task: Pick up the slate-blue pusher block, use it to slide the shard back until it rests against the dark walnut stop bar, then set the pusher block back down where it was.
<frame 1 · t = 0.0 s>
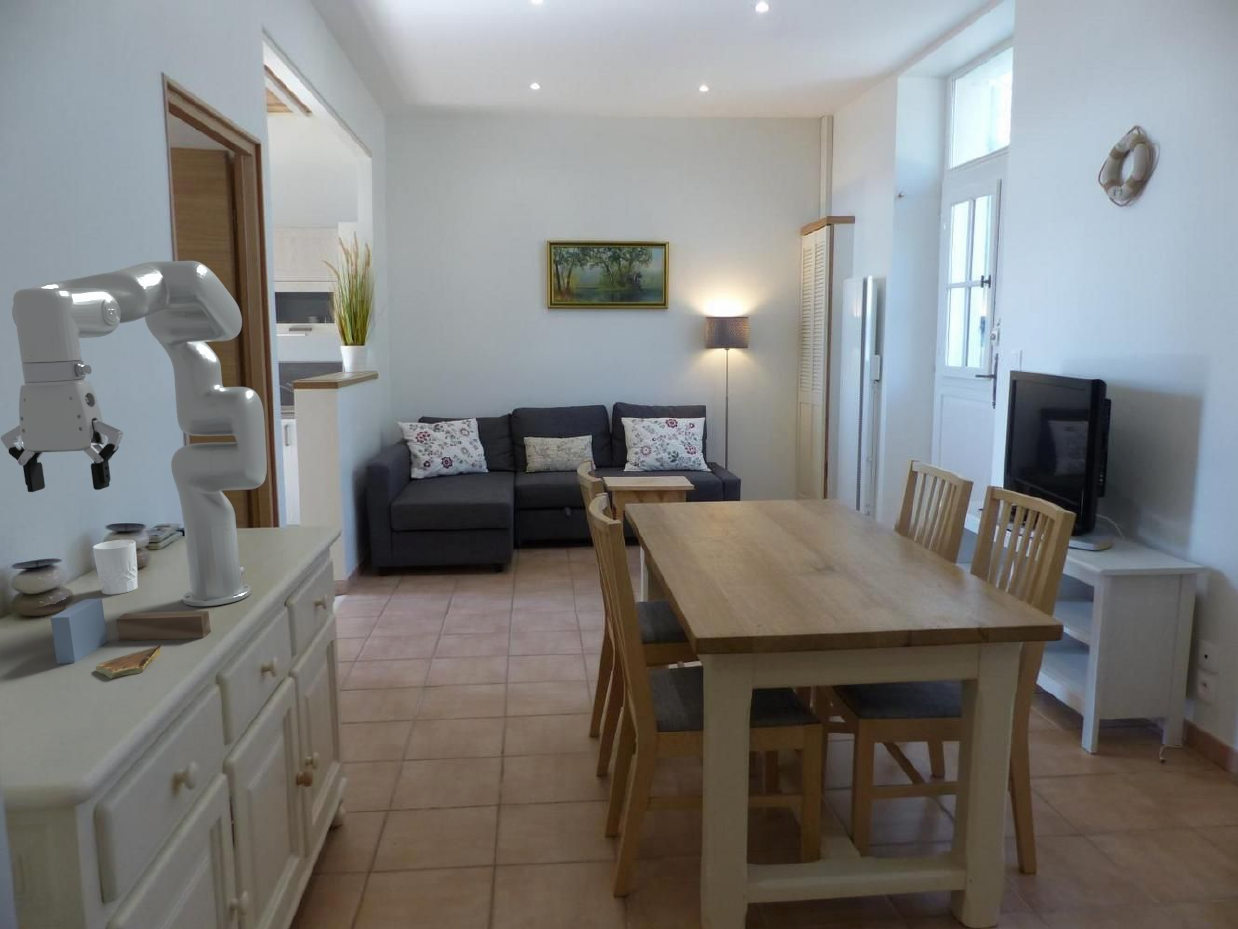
hand: (69, 489, 136), 31 cm above the table, tool pointing down, fingers open, 9 cm apart
pusher block: (83, 652, 157), on the table
stop bar: (165, 636, 163), on the table
white cup: (120, 591, 193), on the table
shard: (126, 669, 150), on the table
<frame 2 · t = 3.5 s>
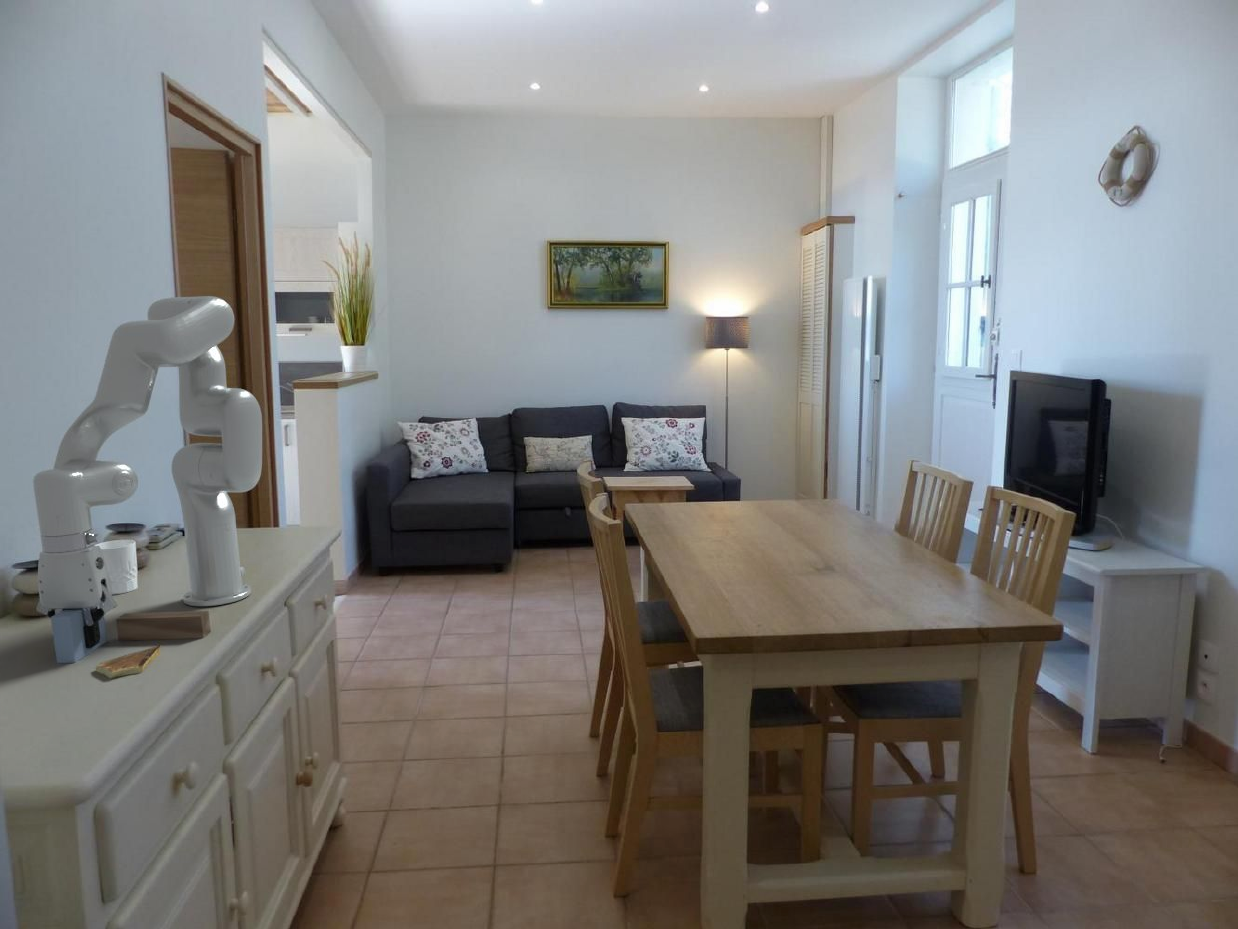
hand: (82, 645, 157), 1 cm above the table, tool pointing down, fingers closed on pusher block, 3 cm apart
pusher block: (83, 651, 157), on the table, touching gripper
everything else where it was.
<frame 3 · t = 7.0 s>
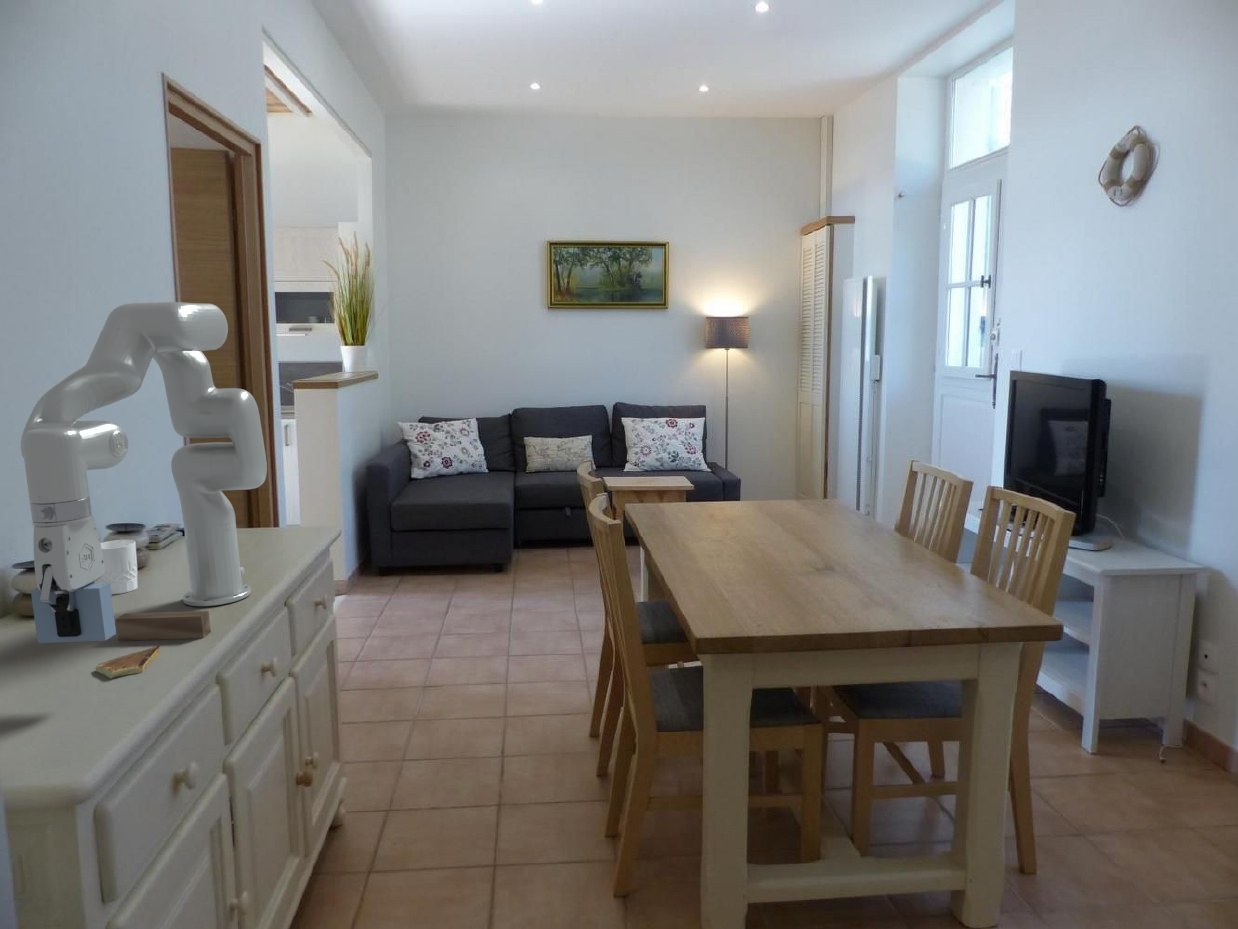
hand: (76, 630, 137), 10 cm above the table, tool pointing down, fingers closed on pusher block, 3 cm apart
pusher block: (77, 638, 137), point 9 cm above the table, touching gripper
everything else where it was.
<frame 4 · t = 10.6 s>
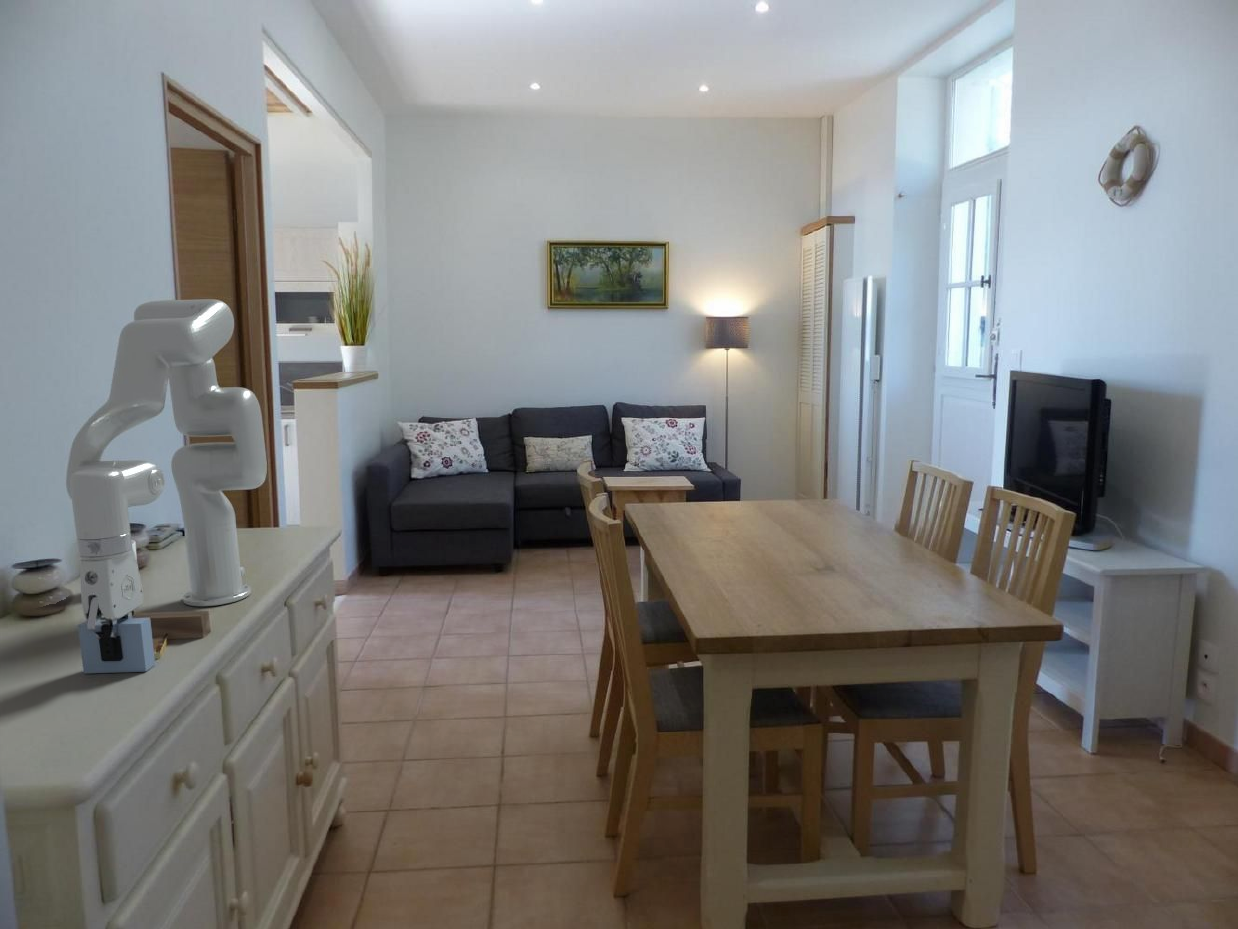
hand: (118, 655, 148), 2 cm above the table, tool pointing down, fingers closed on pusher block, 2 cm apart
pusher block: (119, 669, 148), on the table, touching gripper
shard: (139, 656, 155), on the table
everything else where it was.
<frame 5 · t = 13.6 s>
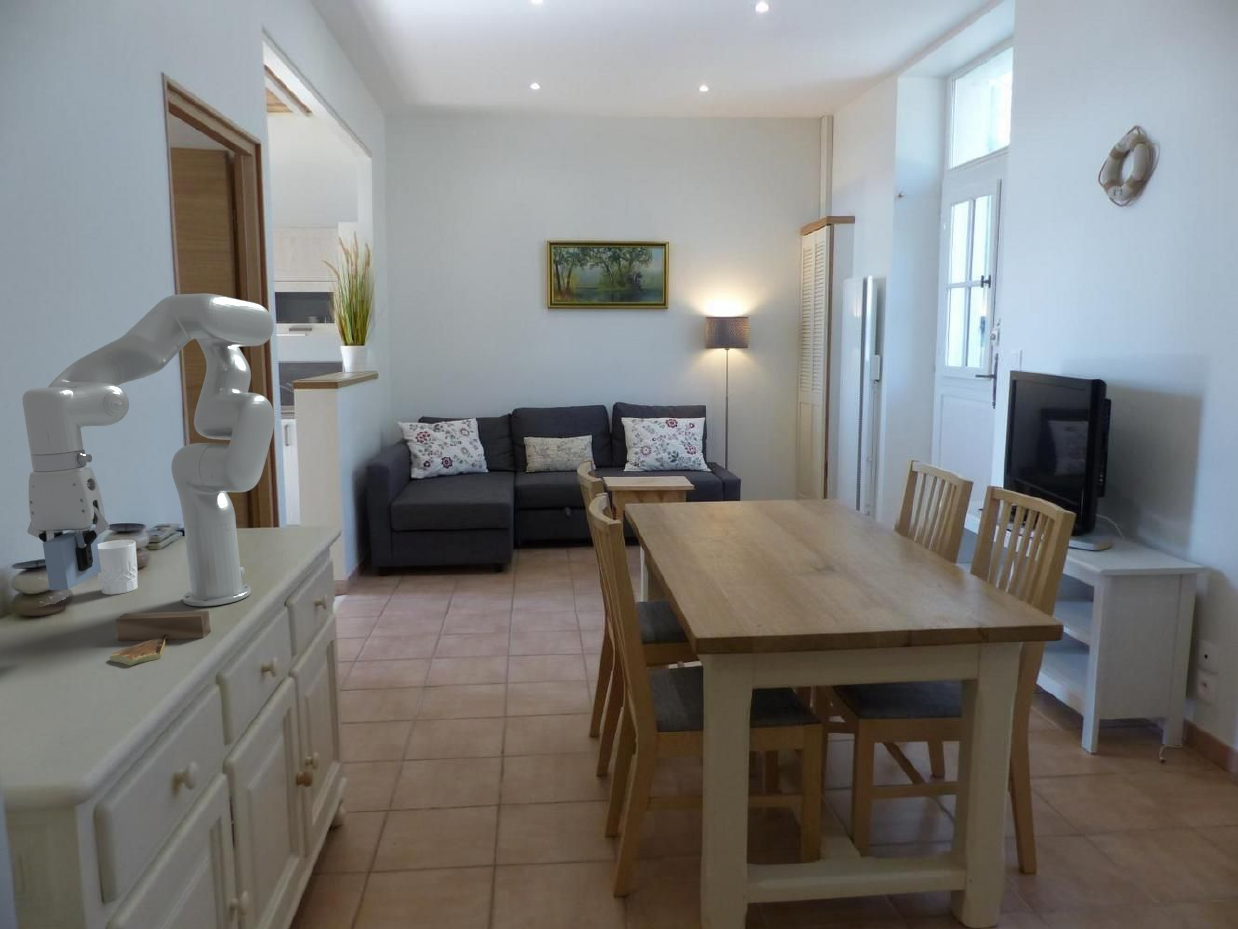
hand: (74, 568, 154), 15 cm above the table, tool pointing down, fingers closed on pusher block, 3 cm apart
pusher block: (76, 580, 155), point 13 cm above the table, touching gripper
everything else where it was.
when the fingers open (2 cm above the table, at t = 16.4 s): pusher block stays where it is, on the table.
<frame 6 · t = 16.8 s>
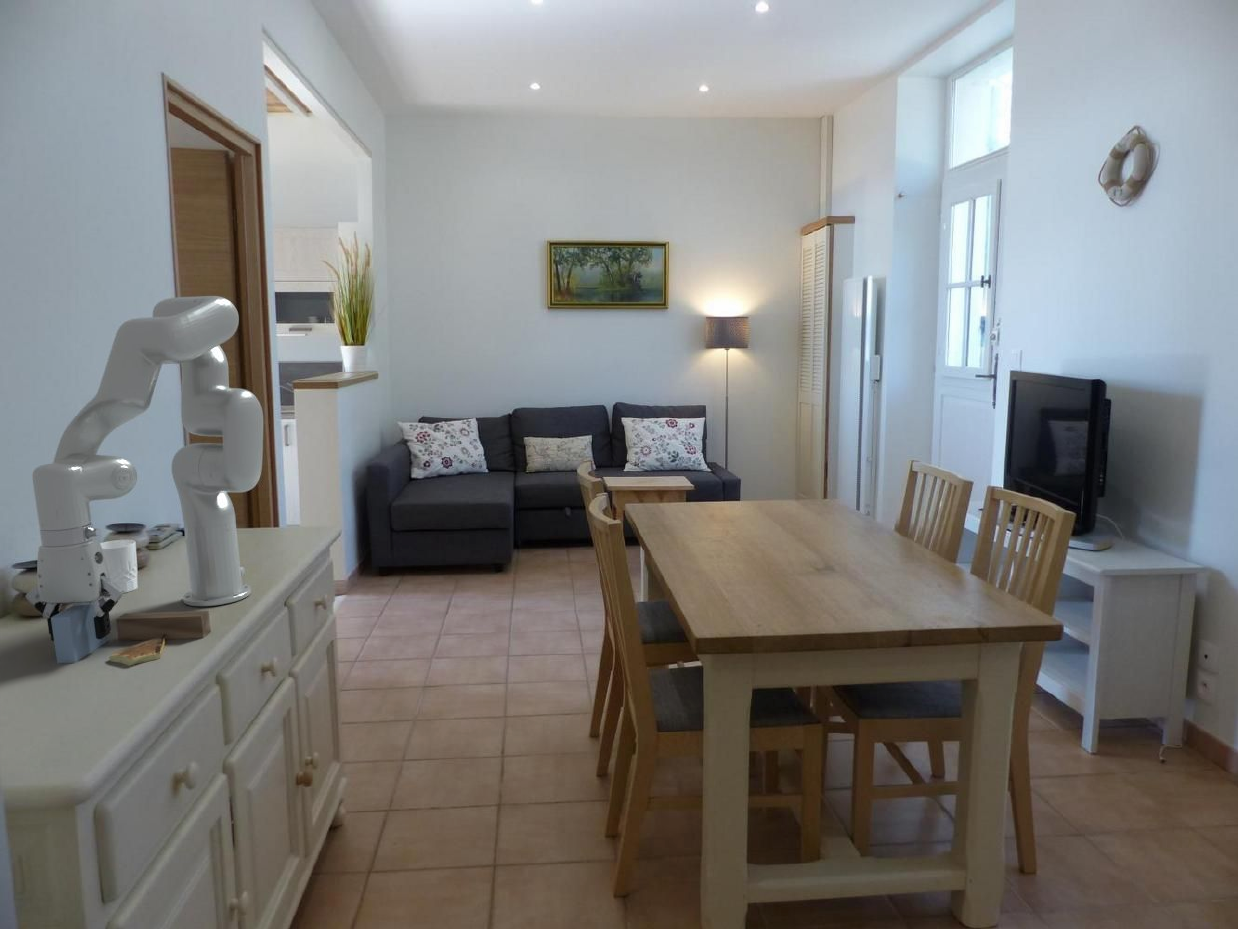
hand: (80, 636, 157), 3 cm above the table, tool pointing down, fingers open, 7 cm apart
pusher block: (83, 652, 157), on the table
everything else where it was.
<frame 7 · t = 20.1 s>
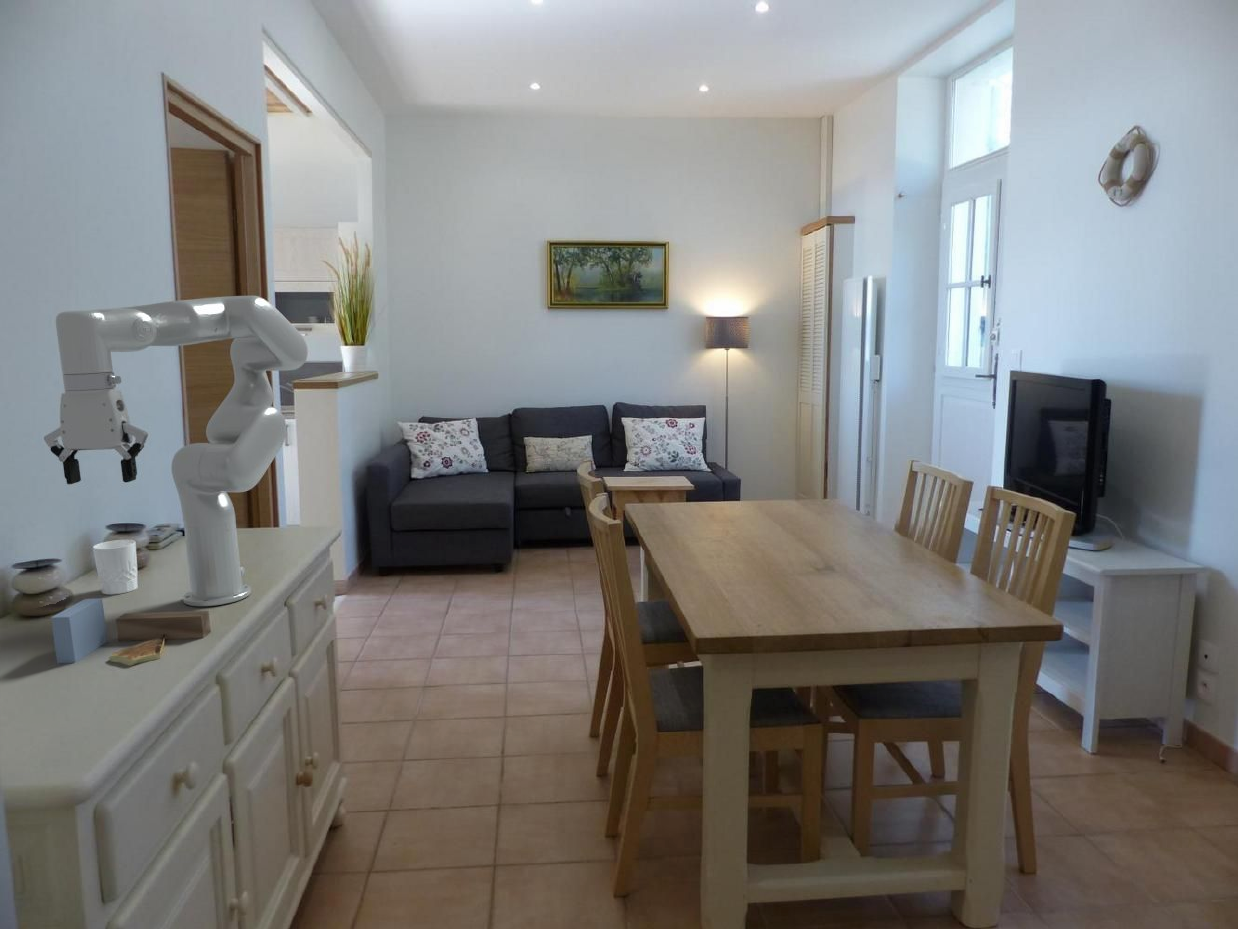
hand: (101, 481, 159), 28 cm above the table, tool pointing down, fingers open, 9 cm apart
nothing on the table moved.
at the end: shard inside the target area (1.0 cm from its centre), on the table; the gripper is holding nothing; pusher block touching table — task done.
